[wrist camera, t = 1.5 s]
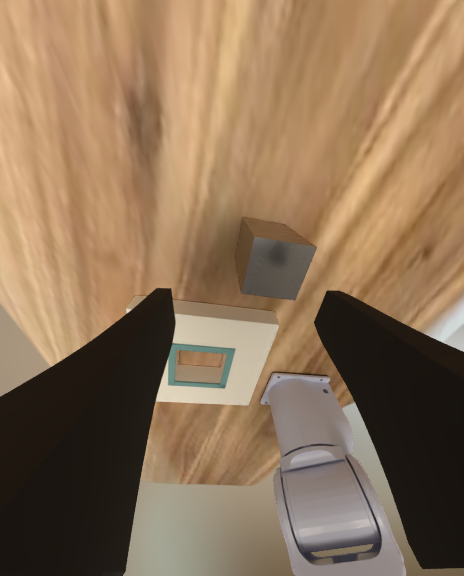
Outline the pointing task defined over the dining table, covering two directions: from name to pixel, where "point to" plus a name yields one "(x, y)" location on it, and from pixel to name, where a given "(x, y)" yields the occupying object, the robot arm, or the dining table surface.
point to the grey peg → (271, 259)
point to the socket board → (216, 339)
